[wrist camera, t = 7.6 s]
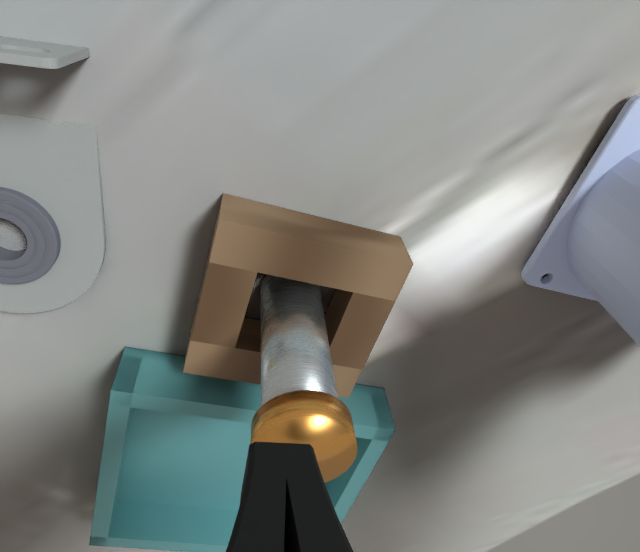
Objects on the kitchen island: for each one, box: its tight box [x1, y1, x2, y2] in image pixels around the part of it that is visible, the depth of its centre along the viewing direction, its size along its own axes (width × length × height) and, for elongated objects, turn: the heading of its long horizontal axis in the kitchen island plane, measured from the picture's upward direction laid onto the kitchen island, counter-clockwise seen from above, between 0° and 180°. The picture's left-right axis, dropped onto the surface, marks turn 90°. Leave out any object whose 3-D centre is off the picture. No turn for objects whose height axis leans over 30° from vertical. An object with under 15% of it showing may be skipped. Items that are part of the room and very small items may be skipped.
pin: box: [250, 275, 357, 483], centre depth 18 cm, size 3×3×8 cm
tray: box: [89, 347, 395, 552], centre depth 25 cm, size 12×11×2 cm
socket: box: [183, 194, 413, 398], centre depth 20 cm, size 7×7×2 cm
